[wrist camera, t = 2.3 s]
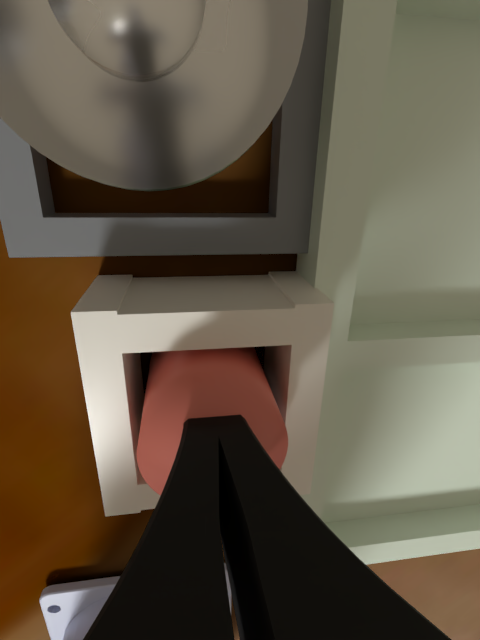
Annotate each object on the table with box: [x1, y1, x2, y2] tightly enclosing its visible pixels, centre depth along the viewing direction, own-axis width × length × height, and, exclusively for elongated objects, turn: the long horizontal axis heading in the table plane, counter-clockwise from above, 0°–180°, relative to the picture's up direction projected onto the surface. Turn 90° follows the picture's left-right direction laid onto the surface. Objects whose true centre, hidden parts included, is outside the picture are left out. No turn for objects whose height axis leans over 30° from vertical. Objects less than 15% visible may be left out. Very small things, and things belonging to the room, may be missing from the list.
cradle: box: [0, 0, 331, 258], centre depth 9 cm, size 8×8×1 cm
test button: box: [137, 347, 288, 496], centre depth 11 cm, size 4×4×4 cm
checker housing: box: [71, 271, 334, 517], centre depth 11 cm, size 6×6×3 cm
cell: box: [0, 0, 308, 191], centre depth 7 cm, size 4×4×6 cm
